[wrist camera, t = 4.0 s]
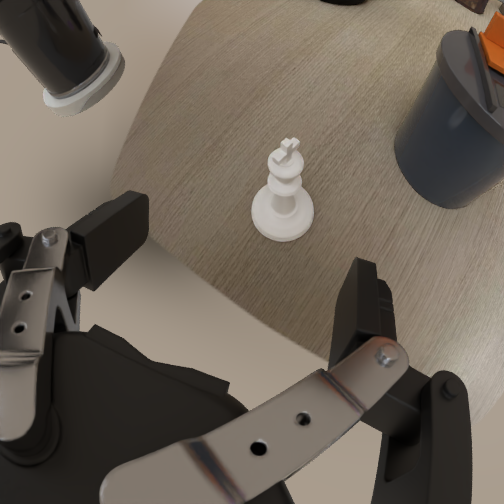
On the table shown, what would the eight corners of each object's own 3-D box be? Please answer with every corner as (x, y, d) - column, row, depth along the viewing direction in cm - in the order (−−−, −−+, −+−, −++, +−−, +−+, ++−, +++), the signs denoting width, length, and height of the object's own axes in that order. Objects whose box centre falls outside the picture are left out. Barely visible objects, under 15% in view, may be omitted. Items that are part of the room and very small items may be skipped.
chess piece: (326, 210, 24) (354, 142, 14) (284, 254, 24) (291, 207, 14) (280, 172, 25) (281, 91, 15) (238, 213, 25) (216, 146, 15)
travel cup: (384, 188, 24) (453, 92, 12) (395, 101, 26) (437, 5, 14) (481, 227, 23) (574, 171, 10) (479, 139, 25) (542, 68, 12)
